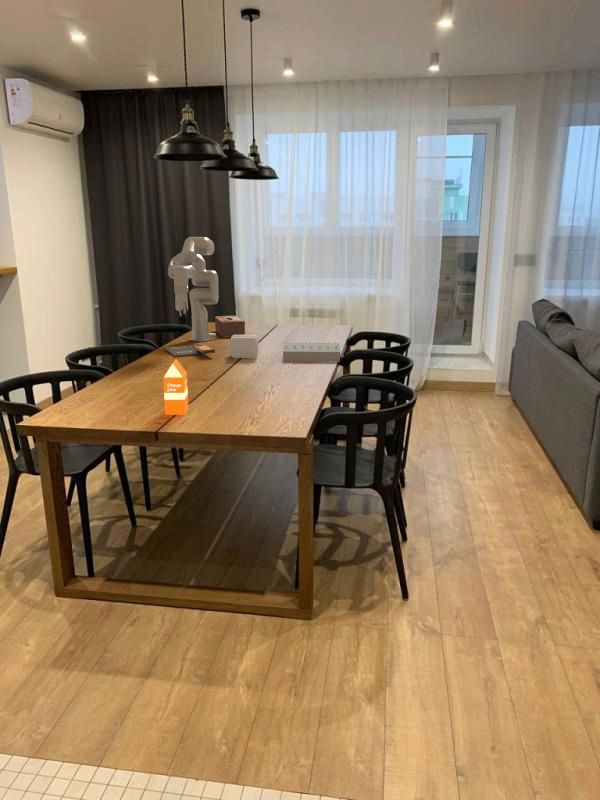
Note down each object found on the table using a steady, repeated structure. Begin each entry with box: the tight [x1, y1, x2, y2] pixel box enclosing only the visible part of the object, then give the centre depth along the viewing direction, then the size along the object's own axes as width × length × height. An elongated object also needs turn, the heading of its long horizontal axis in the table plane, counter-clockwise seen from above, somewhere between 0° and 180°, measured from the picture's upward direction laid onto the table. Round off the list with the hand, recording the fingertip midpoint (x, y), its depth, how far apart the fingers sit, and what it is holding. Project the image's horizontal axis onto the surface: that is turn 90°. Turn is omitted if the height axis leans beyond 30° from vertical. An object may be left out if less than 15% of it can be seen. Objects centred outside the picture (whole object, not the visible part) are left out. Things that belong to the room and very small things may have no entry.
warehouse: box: [282, 342, 341, 363], centre depth 335 cm, size 30×14×8 cm, turn 89°
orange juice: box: [162, 358, 189, 416], centre depth 239 cm, size 8×9×20 cm
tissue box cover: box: [214, 315, 246, 338], centre depth 409 cm, size 26×14×10 cm, turn 18°
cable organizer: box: [230, 334, 259, 360], centre depth 338 cm, size 15×11×12 cm
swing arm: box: [194, 343, 216, 355], centre depth 342 cm, size 18×6×2 cm, turn 26°
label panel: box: [163, 345, 204, 358], centre depth 352 cm, size 18×24×2 cm
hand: (183, 323), depth 341 cm, fingers closed
